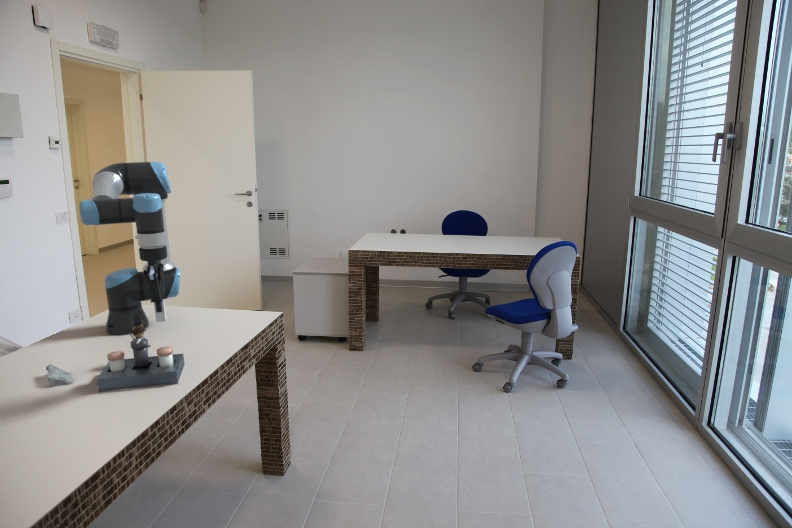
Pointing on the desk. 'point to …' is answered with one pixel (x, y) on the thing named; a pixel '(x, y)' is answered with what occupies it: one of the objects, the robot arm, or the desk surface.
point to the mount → (141, 374)
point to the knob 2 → (165, 356)
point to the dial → (140, 352)
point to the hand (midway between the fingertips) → (161, 320)
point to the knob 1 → (116, 361)
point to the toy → (138, 332)
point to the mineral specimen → (58, 376)
